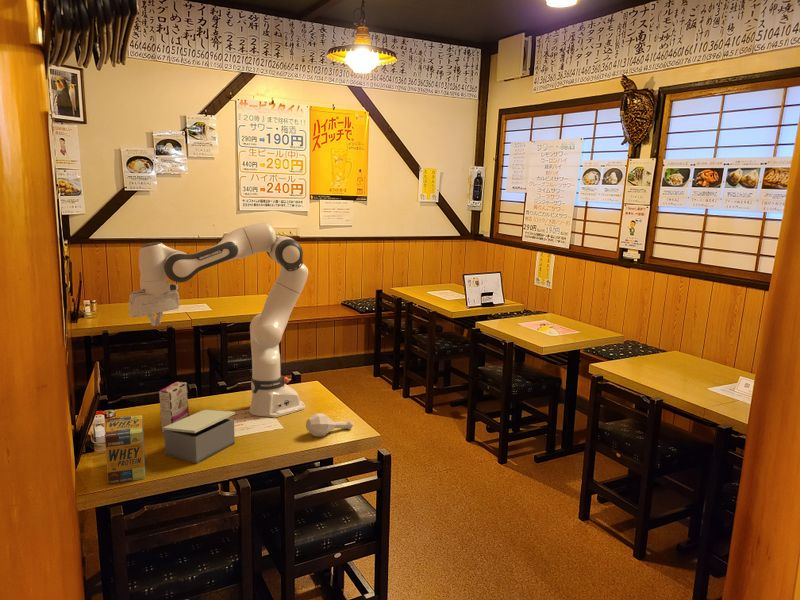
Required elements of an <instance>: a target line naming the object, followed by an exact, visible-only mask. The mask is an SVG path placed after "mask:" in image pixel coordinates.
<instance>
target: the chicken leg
mask: <svg viewBox="0 0 800 600" xmlns="http://www.w3.org/2000/svg"><path fill="white" fill-rule="evenodd" d="M353 427H354V423H353V421H352V420H351V419H350V420H346V421H334V420H333V419H331V417H330V418H329V416H327V415H326V414H324V413H313V415H311V416H310V417H309V418H308V419H307V420H306V423H305V428H306V430H307V432H309V433H310V434H311V435H313V436H314V437H317V438H319V437H325V436H326V435H327V434H328V433H330V432H331V431H333V430H334V429H346V430H351V429H352V428H353Z"/></svg>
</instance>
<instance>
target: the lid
mask: <svg viewBox="0 0 800 600" xmlns="http://www.w3.org/2000/svg"><path fill="white" fill-rule="evenodd" d="M233 415H234V416H235V415H236V412H235V411H231V410H230V411H227V410H215V409H203V410H200V411H198V412H195V413H193V414H191V415H189V416H188V417H186V418H184V419H181V420H179V421H177V422H175V423H172V424H170V425H168V426H165V427H163V430H169V431H179V432H189V433H196V432H198V431H201V430H203V429H205V428H207V427H209V426H211V425H213V424H215V423H217V422H220V421H222V420H224V419H226V418H230V417H232V416H233Z"/></svg>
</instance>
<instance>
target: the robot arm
mask: <svg viewBox="0 0 800 600" xmlns="http://www.w3.org/2000/svg"><path fill="white" fill-rule="evenodd" d="M262 252H263V253H265V252H266V254H267V256H268V257H269V258H271V259H272V260H273V261H274V262H275V263H277V264H279V266H280V271H279V274H278V276H277V277H276V280H275V281H274V284H273V285H272V287H271V288H270V291H269V293H268V295H267V297H266V299H265V302H264V305H263V309H262V311H261V313H258V314H256V315H255V316H254V317H253V318H252V319H251V321H250V324H249V334H250V349H251V365H252V366H251V368H252V369H251V370H252V372H251V373H252V376H251V383H250V384H251V385H250V386H251V392H252V393H251V401H250V406H249V410H248V412H249V413H250V414H251V415H253V416H258V417H269V418H279V417H282V416H285V415H288V414H292V413H295V412H299V411H302V410H305V409H306V404H305V403H304V402H303V401H302V400H301V399H300V396H299V393H298V391H296V390H295V389H294V388H293V387H291V386H289V385H288V384H289V382H290V379H289V378H288V377H287V376H284V375H282V374H281V353H280V343H281V341H282V339H283V334H284V332H285V330H286V327H287V325H288V322H289V319H290V317H291V314H292V311H293V309H294V308H295V305H296V303H297V301H298V299H299V298H300V296H301V294H302V292H303V290H304V288H305V285H306V283H307V280H308V276H309V269H308V267H307V266H306V265H305V264H304V262H303V261H304V259H303V258H304V251H303V248H302V246H301V243H299V242H298V241H297V240H295V239H294V238H292V237H289V236H286V235H282V234H277V233H276V231H275V229H274V228H273V226H272V225H271V224H269V223H267V222H261V223H254V224H250V225H245V226H242V227H239V228H236V229H234V230H232V231H231V232H229V233H226V234H225V235H224V237H222V239H221V240H220V242H218V243H217V244H216V245H214V246H211V247H208V248H206V249H202V250H200V251H198V252H194V253H190V254H188V253H186V252H184V251H181V250H177V249H175V248H171V247H170V246H167V245H165V244H164V243H163V242H160V241H157V242H156V241H155V242H149V243H146V244H143V245H142V246H141V247H140V249H139V253H138V269H139V272H140V278H139V286H140V289H138V290H133V291H132V292H131V293H130V294H129V297H128V298H129V300H128V315H129V317H132V318H140V317H145V316H146V317H147V318H148V320H149V321H150V325H151V326H153V327H154V326H158V325H161V323H162V322H161V321H162V318H163V315H164V312H169V311H172V310H174V311H175V310H177V309H179V307H180V294H179V291H178V290H179V285H178V283H185V282H188V281H189V280H191V279H192V278H193V277H194V276H195V275H197V274H198V273H199V272H201V271H203V270H205V269H207V268H211V267H213V266H216V265H219V264H221V263H225V262H229V261H234V260H240V259H244V258H248V257H250V256H253V255H256V254H259V253H262ZM167 278H168V279H169V280H170V281H172V283H171V282H168V281H167ZM173 282H175V283H173ZM155 316H156V317H155Z"/></svg>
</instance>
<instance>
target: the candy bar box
mask: <svg viewBox="0 0 800 600" xmlns="http://www.w3.org/2000/svg"><path fill="white" fill-rule="evenodd" d="M158 396H159V397H158V398H159V409H160V410H159V412H160V421H161V423H160V424H161V425H160V426H161V433H162V434H164V430H163V427H165V426H168V425H170V424H172V423H175V422H177V421H179V420H181V419H184V418H186V417H188V416H190V412H189V397H188V383H187V382H183V381H175V382H174V383H171V384H169V385H168V386H166V387H164V388H162V389H160V390H159V391H158Z"/></svg>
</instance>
